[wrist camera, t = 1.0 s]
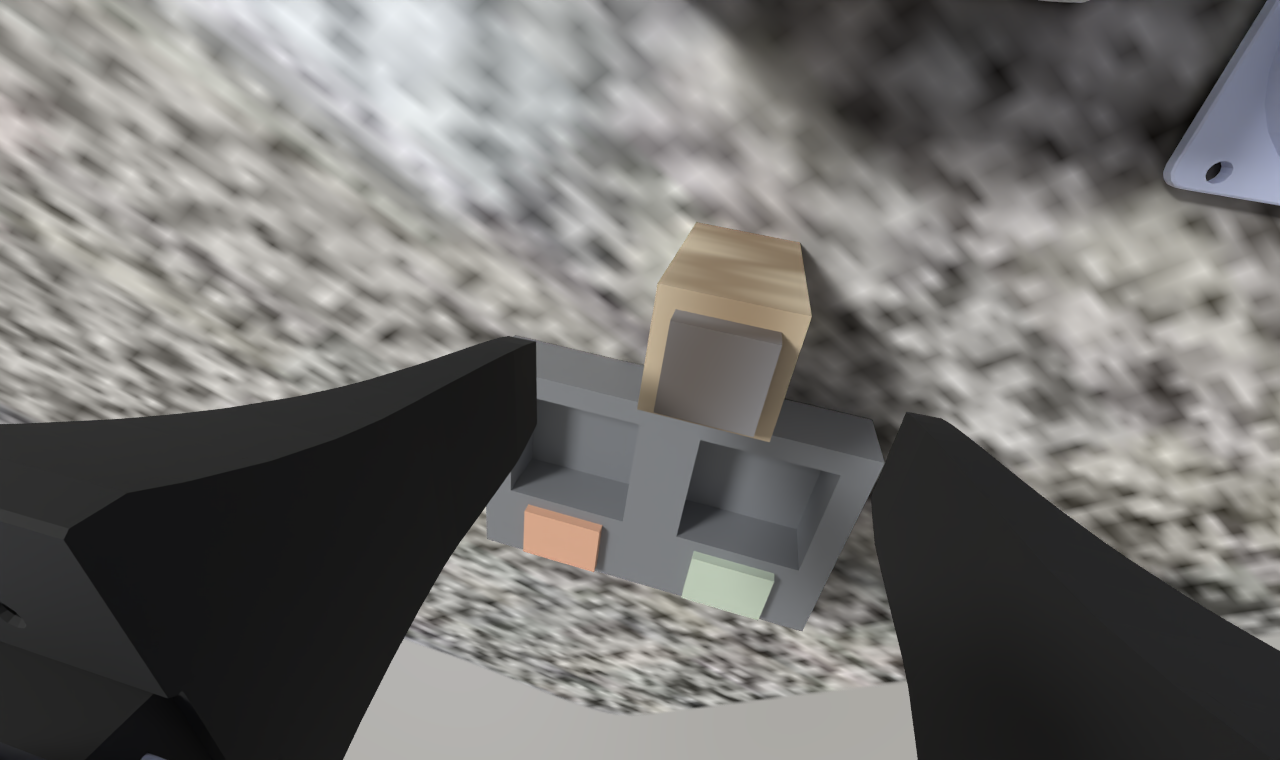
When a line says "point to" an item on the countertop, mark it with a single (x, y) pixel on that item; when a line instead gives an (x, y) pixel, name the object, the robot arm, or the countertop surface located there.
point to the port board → (684, 492)
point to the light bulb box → (1070, 0)
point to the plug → (726, 331)
